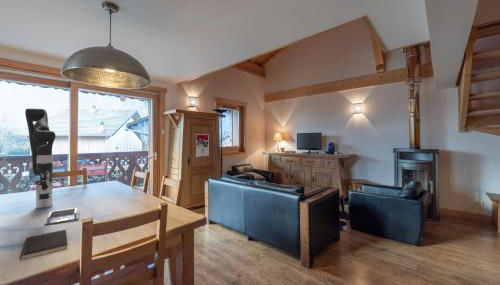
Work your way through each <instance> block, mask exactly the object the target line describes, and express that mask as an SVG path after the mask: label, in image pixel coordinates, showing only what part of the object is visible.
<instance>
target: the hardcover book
mask: <svg viewBox="0 0 500 285" xmlns="http://www.w3.org/2000/svg"><path fill="white" fill-rule="evenodd" d="M67 246H68V237H67V229H62V230H56V231H52V232H45V233H40V234H37V235H31V236H27V237H26V238H25V239H24V243H23V246H22V249H21V253H20V256H19V260H20V261H21V260H23V259H28V258H32V257H35V256H40V255H43V254H47V253H52V252H56V251H60V250H64V249H67Z"/></svg>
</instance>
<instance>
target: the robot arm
mask: <svg viewBox="0 0 500 285" xmlns="http://www.w3.org/2000/svg"><path fill="white" fill-rule="evenodd" d="M24 114H25V119H26V124H27V129H28V137H29V146H30V147H29V148H30V152H31V162H32V163H31V164H32V173H33V176H39V177H40V178H39V179H38V180H36V181H35V187H36V186H37V184H38V183H39V182H40V183H39V184H38V188H39V189H40V190H41V192H49V191H50V190H51V188H50V187H48V186H47V181H50V182H51V183H52V184H53V170H54V169H53V168H54V164H53V162H54V161H53V159H54V158H53V145H54V142H55V139H56V132H54V131H53V130H50V127H49V118H48V112H47V110H46V109H44V108H26V109H25V111H24ZM39 194H40V193H39V192H38V191H37V189H36V188H35V208H37V209H45V208H49V207H52V206H53V205H54V204H53V189H52V190H51V191H50V198H49V199H41V200H39Z"/></svg>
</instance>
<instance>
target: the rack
mask: <svg viewBox="0 0 500 285" xmlns="http://www.w3.org/2000/svg"><path fill="white" fill-rule="evenodd" d="M79 216H80V210H78V207H74V208H66V209H58V210H51V211H50V212H49V214H48V215H47V218H46V220H45V222H44V226H50V225H56V224H57V225H58V224H62V223H69V222H74V221H79Z"/></svg>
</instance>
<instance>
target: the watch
mask: <svg viewBox="0 0 500 285" xmlns="http://www.w3.org/2000/svg"><path fill="white" fill-rule="evenodd" d="M39 183H40V182H39ZM39 183H38V184H39ZM38 184H37V186H36V185H35V190H36V189H37V191H38V192H39V193H40V194H39V200H41V199H49V198H50V191H51V190H52V191H53V188H54V185H53V182H52V183H51V182H50V181H47V186H48V187H50V188H51V190H50V191H49V192H41V190H40V189H39V188H38Z"/></svg>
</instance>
